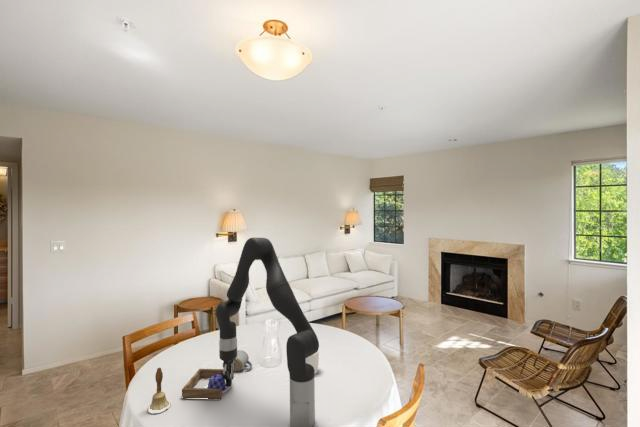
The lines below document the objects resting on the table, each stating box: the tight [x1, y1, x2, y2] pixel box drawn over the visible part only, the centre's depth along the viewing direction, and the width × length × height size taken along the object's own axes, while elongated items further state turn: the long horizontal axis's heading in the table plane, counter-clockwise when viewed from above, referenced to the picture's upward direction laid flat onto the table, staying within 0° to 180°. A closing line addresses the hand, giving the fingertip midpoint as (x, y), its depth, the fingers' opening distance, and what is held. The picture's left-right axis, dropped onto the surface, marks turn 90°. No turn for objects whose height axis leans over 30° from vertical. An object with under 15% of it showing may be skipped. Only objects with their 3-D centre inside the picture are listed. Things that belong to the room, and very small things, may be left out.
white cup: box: [306, 349, 320, 375], centre depth 158 cm, size 8×8×10 cm
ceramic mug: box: [234, 349, 253, 373], centre depth 161 cm, size 11×8×8 cm
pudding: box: [202, 374, 232, 395], centre depth 144 cm, size 12×12×5 cm
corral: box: [181, 368, 235, 400], centre depth 144 cm, size 17×16×4 cm
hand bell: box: [149, 367, 170, 410], centre depth 130 cm, size 8×8×16 cm
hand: (228, 385), depth 144 cm, fingers closed
